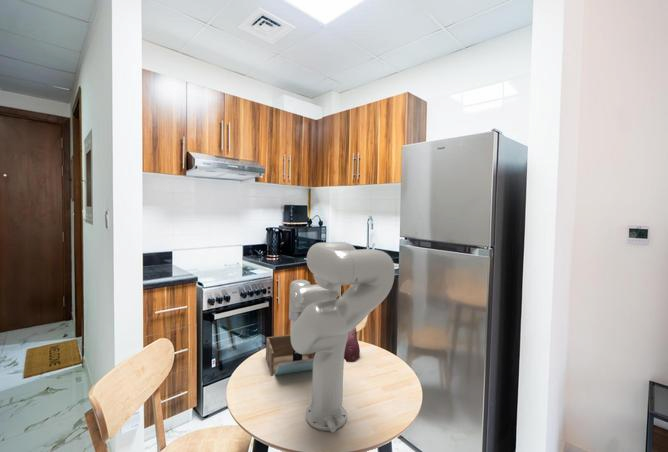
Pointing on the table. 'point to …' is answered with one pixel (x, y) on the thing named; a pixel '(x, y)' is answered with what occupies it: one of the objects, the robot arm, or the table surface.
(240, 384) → the table surface
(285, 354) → the box
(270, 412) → the table surface
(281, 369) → the light blue panel
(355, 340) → the vegetable
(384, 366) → the table surface
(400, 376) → the table surface
